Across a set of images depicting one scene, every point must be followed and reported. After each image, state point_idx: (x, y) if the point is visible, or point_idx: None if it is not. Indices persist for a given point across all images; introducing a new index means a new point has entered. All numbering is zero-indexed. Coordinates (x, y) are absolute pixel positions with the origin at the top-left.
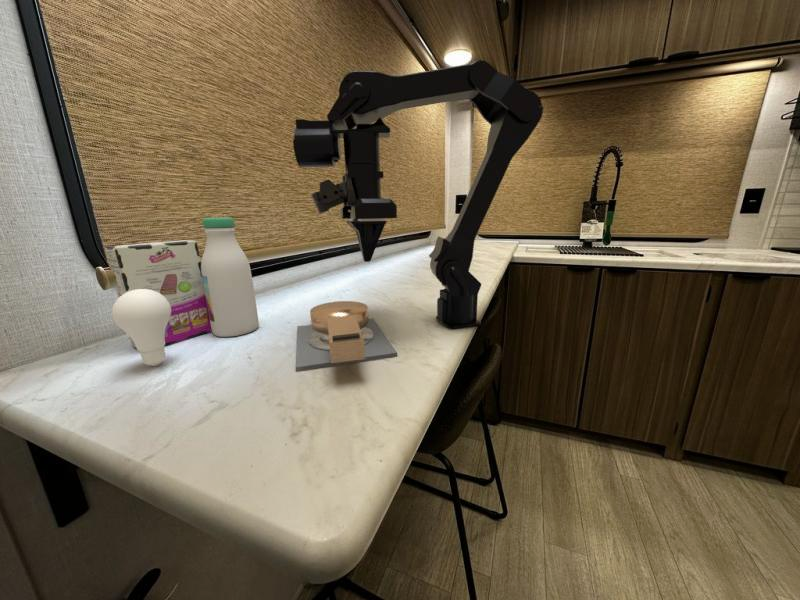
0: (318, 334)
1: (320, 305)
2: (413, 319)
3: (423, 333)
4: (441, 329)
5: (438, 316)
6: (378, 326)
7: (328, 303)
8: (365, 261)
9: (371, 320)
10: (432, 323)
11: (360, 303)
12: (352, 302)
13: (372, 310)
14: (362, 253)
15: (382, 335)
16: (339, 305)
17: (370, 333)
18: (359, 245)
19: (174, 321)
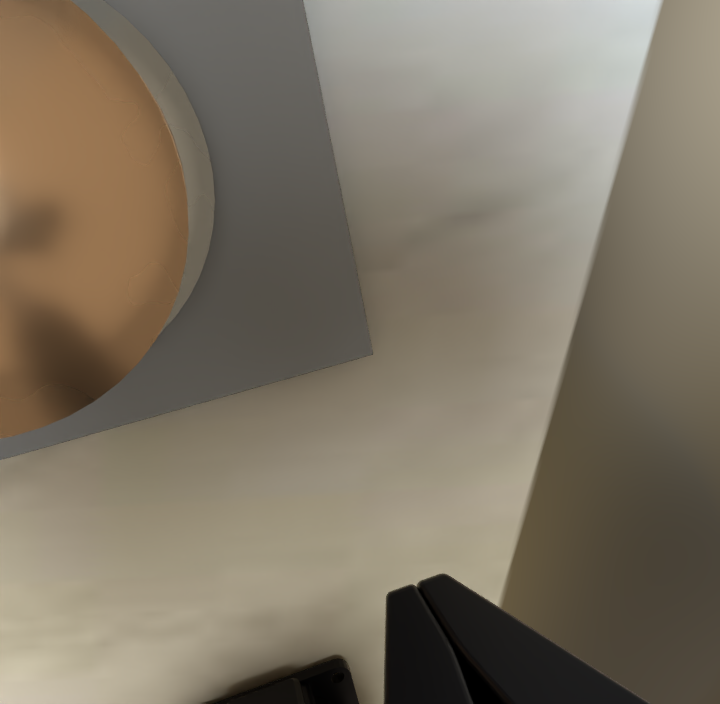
0: None
1: (37, 8)
2: (357, 556)
3: (134, 610)
4: (188, 681)
5: (277, 698)
6: (205, 400)
7: (112, 86)
8: (388, 598)
9: (324, 351)
10: (281, 641)
11: (99, 374)
12: (135, 306)
13: (562, 331)
14: (429, 653)
15: (47, 432)
16: (31, 202)
17: None
18: (608, 691)
19: None
